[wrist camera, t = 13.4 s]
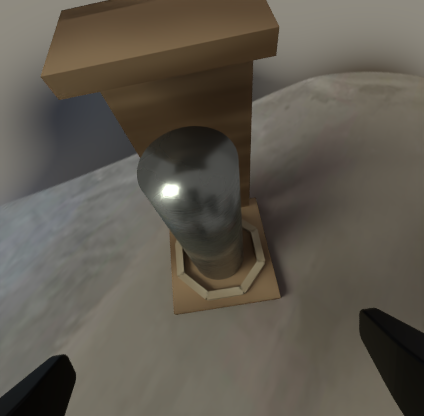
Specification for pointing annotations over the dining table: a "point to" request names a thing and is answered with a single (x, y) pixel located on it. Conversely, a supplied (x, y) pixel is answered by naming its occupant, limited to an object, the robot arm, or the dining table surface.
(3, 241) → the dining table surface
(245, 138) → the ledge stand
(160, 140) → the metal tin
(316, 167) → the dining table surface
